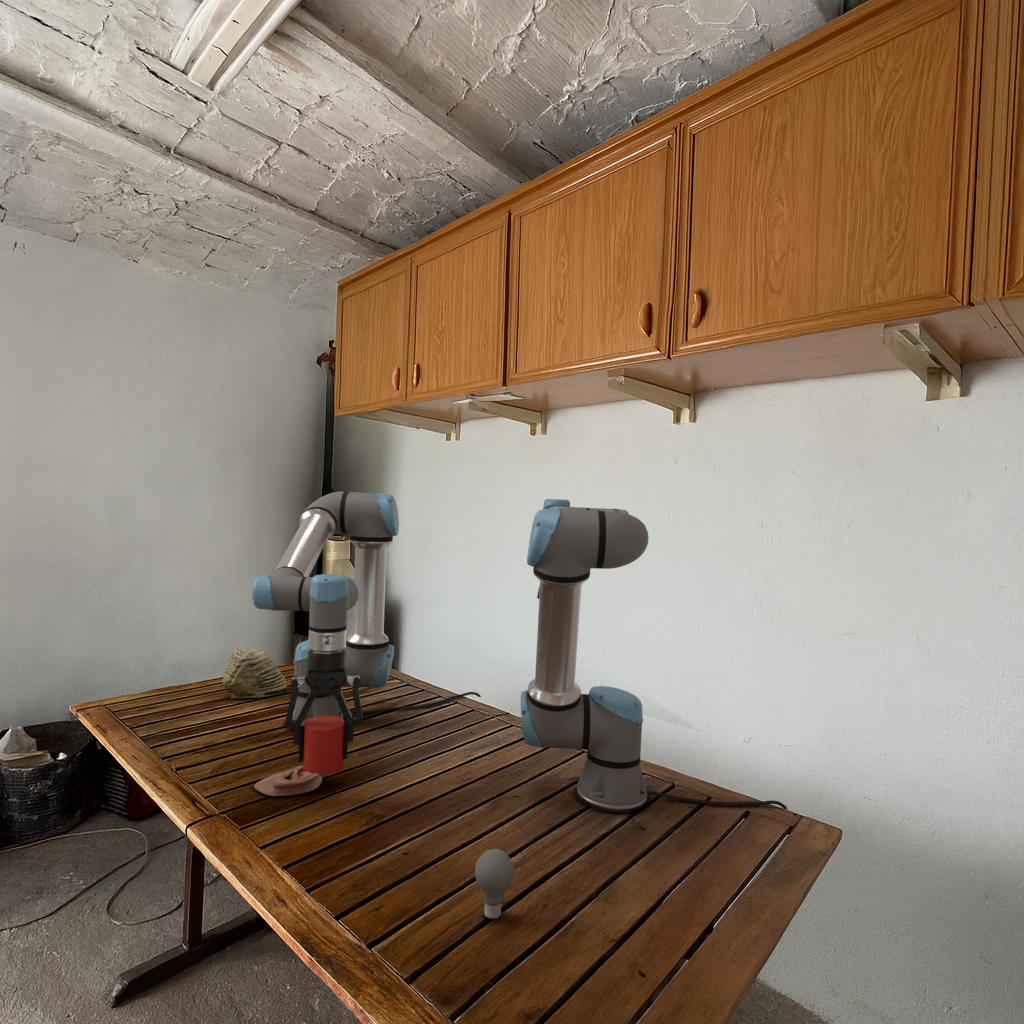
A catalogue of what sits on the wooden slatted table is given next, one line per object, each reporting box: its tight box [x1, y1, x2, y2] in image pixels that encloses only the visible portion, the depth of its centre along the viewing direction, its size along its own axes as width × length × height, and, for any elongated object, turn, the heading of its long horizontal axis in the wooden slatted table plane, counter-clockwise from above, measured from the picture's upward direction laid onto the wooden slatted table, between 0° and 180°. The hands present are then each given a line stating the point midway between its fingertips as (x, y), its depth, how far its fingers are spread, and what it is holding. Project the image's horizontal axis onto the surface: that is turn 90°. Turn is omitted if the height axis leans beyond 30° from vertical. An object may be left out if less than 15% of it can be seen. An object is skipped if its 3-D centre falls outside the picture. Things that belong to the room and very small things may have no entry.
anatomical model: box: [253, 764, 323, 797], centre depth 138 cm, size 13×4×12 cm
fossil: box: [222, 646, 288, 699], centre depth 198 cm, size 9×18×15 cm, turn 132°
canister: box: [302, 716, 346, 775], centre depth 132 cm, size 8×8×9 cm
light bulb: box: [474, 848, 515, 919], centre depth 98 cm, size 6×6×10 cm
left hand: (323, 757), depth 132 cm, fingers closed on canister, 8 cm apart
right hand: (551, 630), depth 177 cm, fingers open, 13 cm apart
